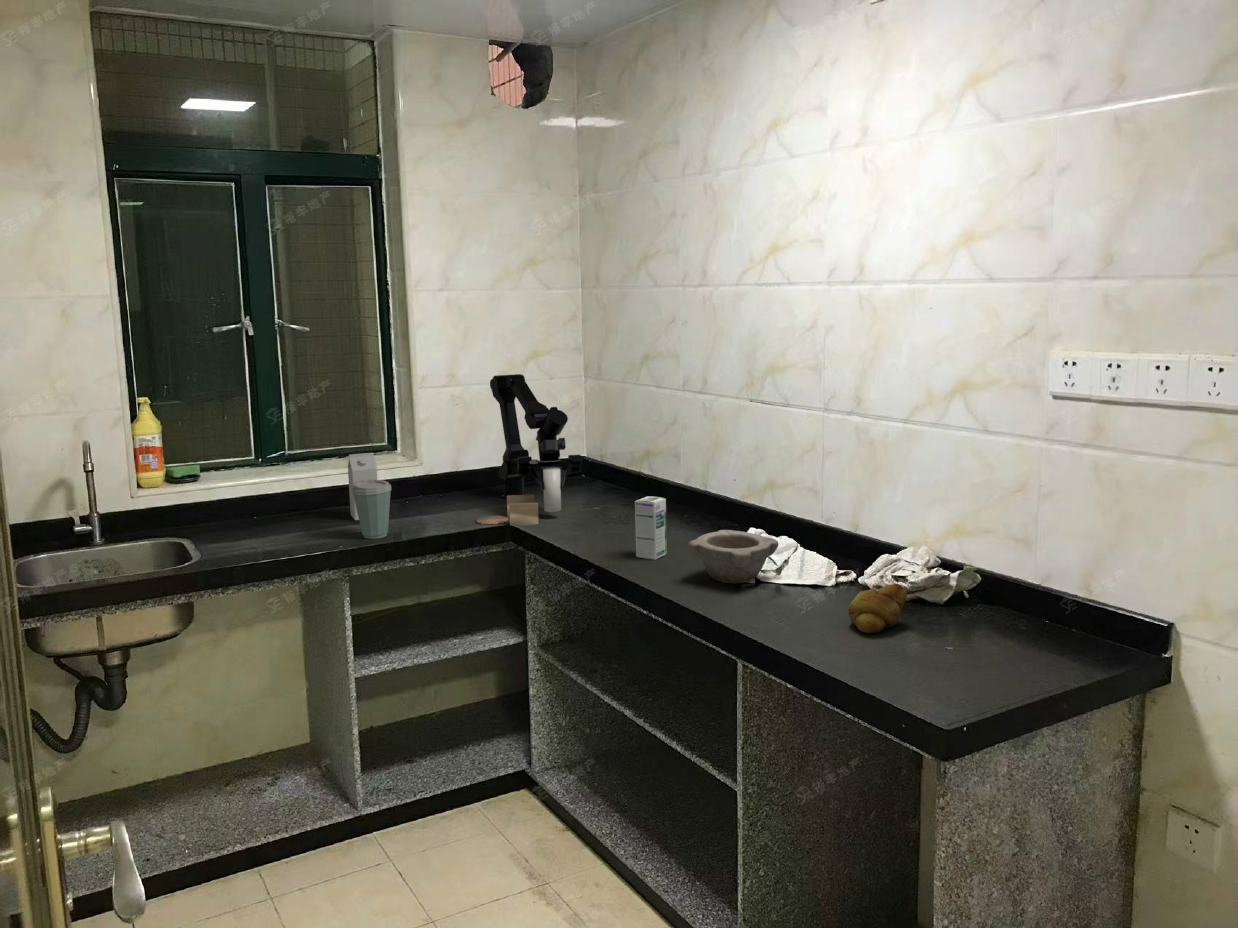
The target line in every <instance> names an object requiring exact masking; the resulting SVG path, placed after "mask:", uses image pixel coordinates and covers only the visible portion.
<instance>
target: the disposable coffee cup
mask: <svg viewBox="0 0 1238 928" xmlns="http://www.w3.org/2000/svg"><path fill="white" fill-rule="evenodd" d="M391 491H392V485H391V483H390V482H388V481H386V480H384V479H383V480H381V479H378V478H377V479H366V480H360V481H357V482H354V484H353V487H352V493H353V496H354V500H355V504H356V509H357V513H358V517H359V520H358V521H359V525H360V529H361V534H362V535H363V538H364V539H370V540H375V539H381V538H385V537H387V536H388V533H389V521H390V520H389V518H390V505H391V495H392V494H391Z"/></svg>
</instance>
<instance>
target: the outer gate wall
mask: <svg viewBox="0 0 1238 928" xmlns="http://www.w3.org/2000/svg"><path fill="white" fill-rule="evenodd" d="M509 514H510V516H509V526H531V525H539V502H535V503H516V504H509Z"/></svg>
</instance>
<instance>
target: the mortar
mask: <svg viewBox="0 0 1238 928" xmlns="http://www.w3.org/2000/svg"><path fill="white" fill-rule="evenodd" d="M778 547H779V542H778V541H777V540H776V539H775V538H773V537H766V536H763V535H761V534H758V533H757V534H756V533H751V532H747V531H741V530H732V529H720V530H717V531H713V532H708V533H704V534H702V535H700V536H698V537H696V539H692V540H691V541H689V542H688V545H687V549H688V551H689V553H690V554H691V555H692V556H693V557H696V558H699V559H700V561H701V563H702V566H703V567H704V569H705V571H706V572H707V573H708V575H709V577H711V579H713V580H715V581H718V582H721V583H725V584H744V583H748V582H751V581H753V580H754V579H755V578H756V577H757V576H758V575H759V574H760V572H761V570H762V569H763V567H764V565H765V563H766V561H767V558H769V557H771V556H773V554H774V553H775V552H776V551H777V549H778Z"/></svg>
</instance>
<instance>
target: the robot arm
mask: <svg viewBox="0 0 1238 928" xmlns="http://www.w3.org/2000/svg"><path fill="white" fill-rule="evenodd" d="M489 388H490V389H491V393H492V396H493V398H494V399H495V400H496V402H497V403H498V404H499V405H498V406H499V409H500V410H499V411H500V416H501V417H500V418H501V422H502V423H501V424H502V429H503V435H504V441H505V450H504V453H503V455H502V464H501V466H500V467H499V469H498V478H499V479H501V480H504V484H503V488H504V489H503V494H502V495H500V498H506V499H507V496H509V495H529V493H525V490H526V489H525V478H529V477H531V478H534V480H535V481H536V483H537V484H538V485H539V486H540V488H541V490H542V491H543V490H544V482H543V473H542V470H541V469H545V468H559V469H560V477H561V490H563V488H564V485H565V481H566V479H567V477H568V476H569V475H570V476H571V474H572V473H575V474H576V473H581V472H582V468H583V460H584V459H583V457H582V455H581V454H568V457H567V459H563V460H561V459H560V458H561V451H564V450H566V448H567V447H566V438H565V437H559V438H558V437H557V436H559V435H560V434H561V432H562V431H563V429H564V428H565V426H566V424H567V423H568V419H569V418H568V415H567V414H566V413H565V412H564V411H563V410H561V409H558V407H557V406H551V407H550V408H549V407H547V405H545V404H543V403H541V402H539V401H538V399H537V397H536V396H535V395H534V393H533V391H532V390H531V388H530V387H529V384H528V383H527V382H526V378H525V376H524V375H523V374H520V373H519V374H516V373H515V374H499V375H493V377H492V379H490V382H489ZM516 399H517V401H518V402H519V404H520V406H521V408H522V409H523V410H524V413H525V414H524V418H523V419H524V421H525V424H526V425H527V426H528V428H529V429H530V430H537V429H538V430H537V431H536V437H535V440H536V441H537V447H538V448H537V449H538V457H539V460H538V459H533V458H532V456H530V454H529V450H528V449H525V448H524V447H523V446H522V442H521V436H520V429H519V422H518V417H517V416H518V415H517V410H516V404H515V403H516V402H515V401H516ZM557 438H558V439H557Z"/></svg>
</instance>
